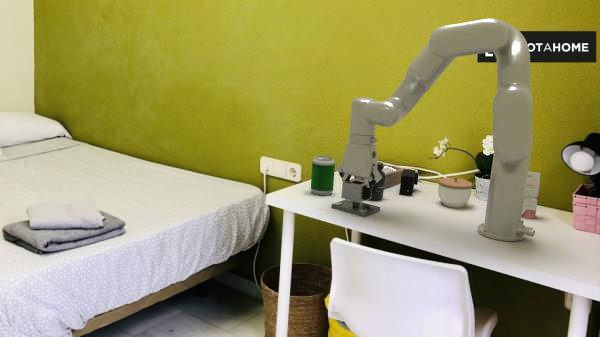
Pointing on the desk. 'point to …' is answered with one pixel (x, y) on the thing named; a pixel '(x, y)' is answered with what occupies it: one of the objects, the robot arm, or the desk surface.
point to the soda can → (322, 175)
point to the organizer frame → (390, 176)
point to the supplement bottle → (378, 185)
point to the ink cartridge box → (531, 195)
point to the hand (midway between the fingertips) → (356, 196)
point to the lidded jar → (454, 191)
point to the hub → (353, 190)
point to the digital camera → (408, 182)
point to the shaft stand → (355, 207)
